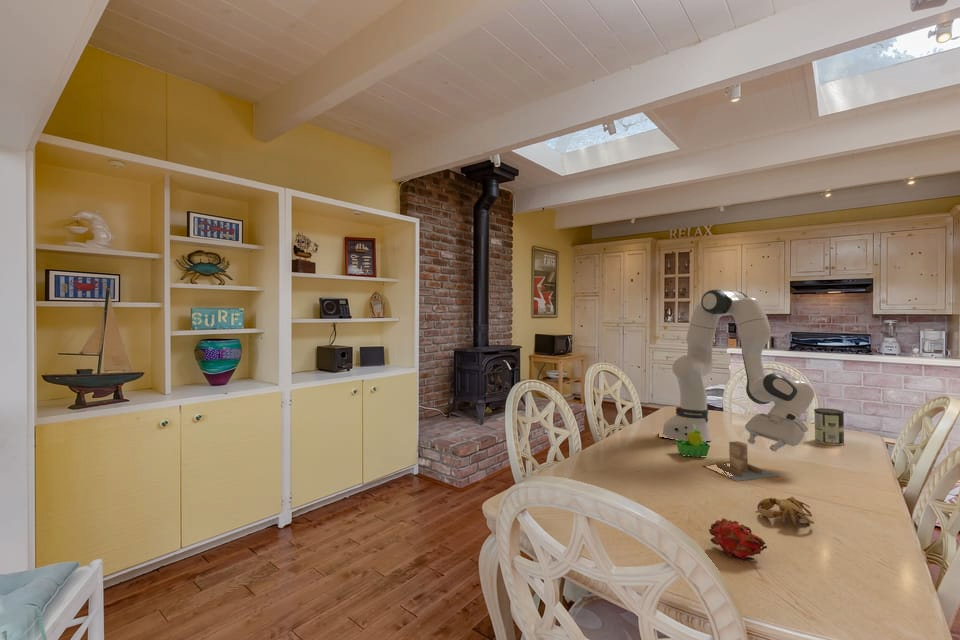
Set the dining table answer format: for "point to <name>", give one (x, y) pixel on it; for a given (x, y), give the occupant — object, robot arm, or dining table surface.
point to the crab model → (784, 509)
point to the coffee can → (829, 426)
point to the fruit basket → (693, 445)
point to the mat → (751, 474)
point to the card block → (738, 456)
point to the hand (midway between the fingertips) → (760, 446)
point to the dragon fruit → (736, 539)
